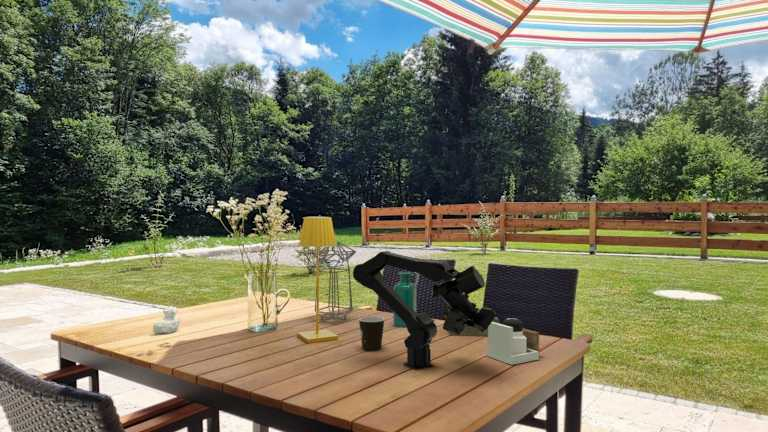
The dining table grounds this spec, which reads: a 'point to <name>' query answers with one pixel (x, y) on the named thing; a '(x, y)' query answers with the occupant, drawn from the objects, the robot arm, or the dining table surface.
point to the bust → (167, 322)
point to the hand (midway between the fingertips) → (482, 331)
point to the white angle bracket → (506, 345)
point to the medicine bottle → (517, 336)
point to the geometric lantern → (334, 279)
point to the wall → (532, 339)
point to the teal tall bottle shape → (405, 294)
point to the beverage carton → (474, 330)
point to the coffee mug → (371, 333)
